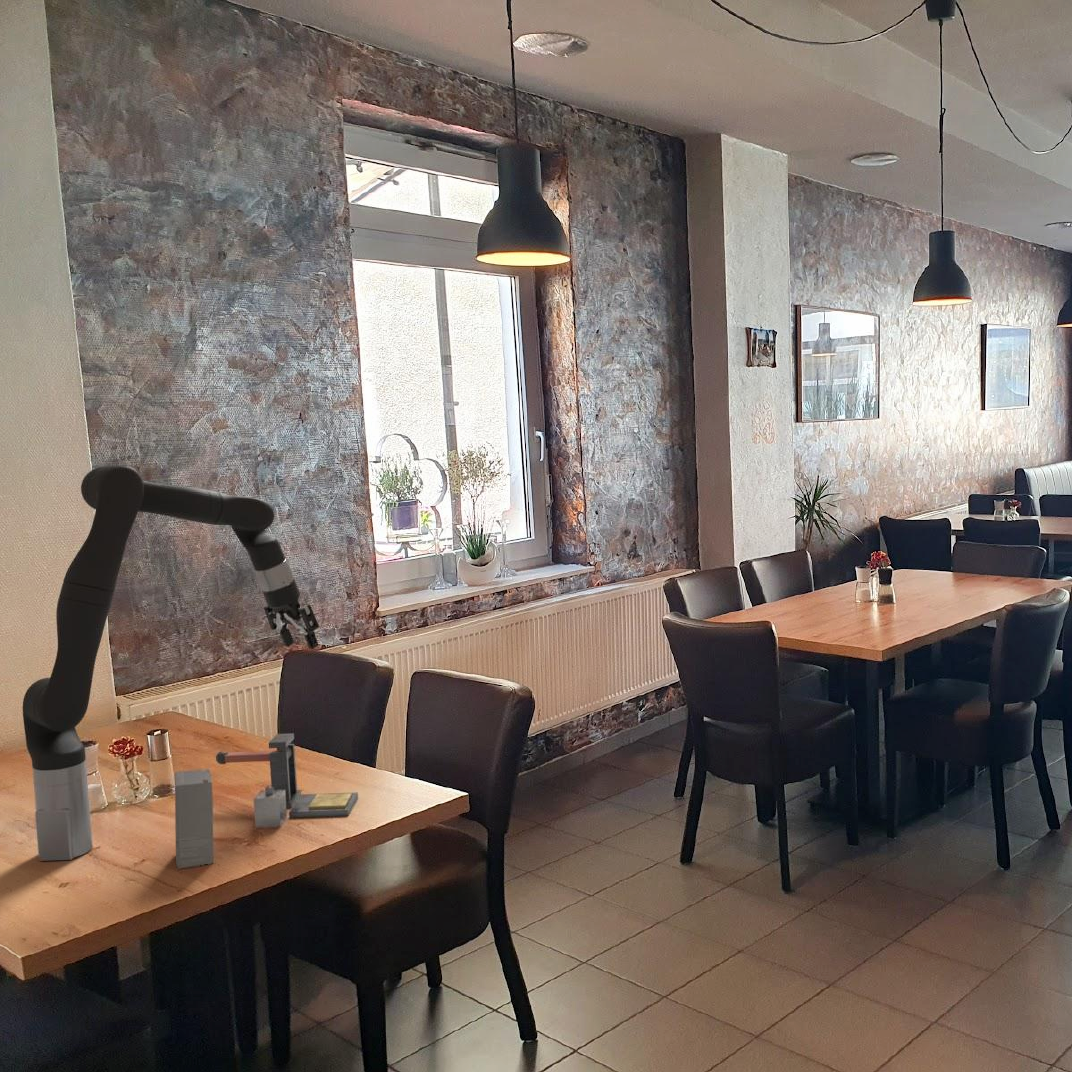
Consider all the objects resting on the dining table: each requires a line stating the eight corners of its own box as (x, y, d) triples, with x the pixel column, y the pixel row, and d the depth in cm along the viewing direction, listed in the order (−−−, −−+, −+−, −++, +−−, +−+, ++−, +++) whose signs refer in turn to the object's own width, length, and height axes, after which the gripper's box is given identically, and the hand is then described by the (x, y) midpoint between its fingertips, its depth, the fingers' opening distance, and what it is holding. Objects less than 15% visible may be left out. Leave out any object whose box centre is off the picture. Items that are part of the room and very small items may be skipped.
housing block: (280, 827, 207) (278, 790, 206) (255, 828, 207) (253, 791, 206) (286, 818, 212) (284, 782, 211) (262, 819, 212) (260, 783, 211)
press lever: (286, 764, 220) (286, 751, 219) (213, 767, 220) (212, 754, 220) (291, 758, 224) (291, 746, 224) (219, 761, 224) (218, 748, 224)
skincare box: (175, 854, 194) (169, 771, 193) (215, 848, 197) (209, 766, 196) (176, 871, 187) (170, 784, 185) (218, 864, 189) (212, 778, 188)
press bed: (348, 815, 212) (344, 749, 211) (260, 818, 212) (256, 752, 211) (361, 792, 226) (357, 730, 225) (279, 795, 227) (275, 733, 226)
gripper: (244, 589, 233) (270, 652, 239) (285, 590, 225) (310, 656, 230) (269, 574, 239) (293, 636, 244) (310, 575, 230) (334, 639, 235)
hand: (301, 646), depth 237 cm, fingers open, 8 cm apart
